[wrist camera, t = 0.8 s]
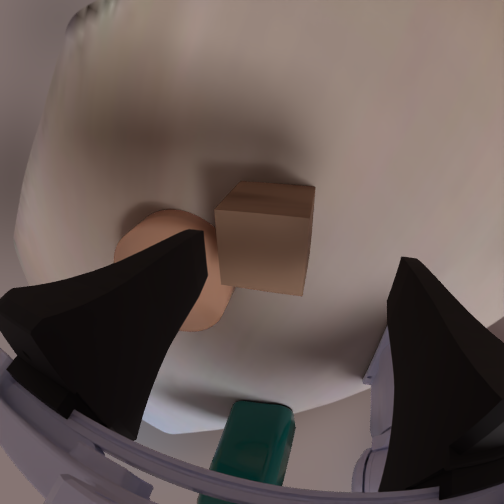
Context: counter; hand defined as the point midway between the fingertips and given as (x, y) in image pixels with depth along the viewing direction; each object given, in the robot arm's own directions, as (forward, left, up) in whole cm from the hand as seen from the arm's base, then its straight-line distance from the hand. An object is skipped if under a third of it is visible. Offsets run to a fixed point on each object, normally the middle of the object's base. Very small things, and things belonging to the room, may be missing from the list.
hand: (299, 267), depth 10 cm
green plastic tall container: (-33, +4, -10) cm, 34 cm away
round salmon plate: (-8, +11, -10) cm, 16 cm away
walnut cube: (-3, +3, -10) cm, 10 cm away
